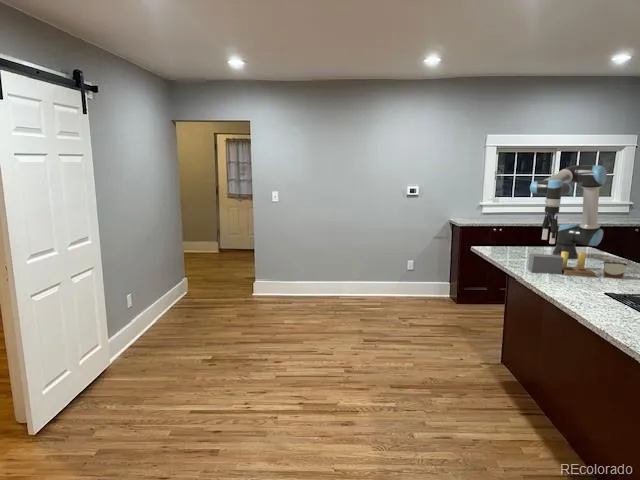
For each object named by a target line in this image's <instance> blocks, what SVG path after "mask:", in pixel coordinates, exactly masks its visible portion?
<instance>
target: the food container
mask: <svg viewBox="0 0 640 480" xmlns="http://www.w3.org/2000/svg"><path fill="white" fill-rule="evenodd" d="M602 264H603V278H605V279H615V280H623V279H624V276H625V272H626V269H627V267H629V264H628V262H627V261H624V260H618V259H613V258H612V259H608V258H607V259H604V260H603V262H602Z"/></svg>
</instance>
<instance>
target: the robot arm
mask: <svg viewBox="0 0 640 480" xmlns="http://www.w3.org/2000/svg"><path fill="white" fill-rule="evenodd" d="M607 176H608V174H607V169H606V168H605V167H604V166H602V165H598V164H594V165H593V164H585V165H584V164H583V165H582V164H581V165H580V164H578V165H577V164H575V165H572V166H568V167H565V168H562V169H561V170H559V171H558V173H556V174H553V175H552V176H549V177H548V178H546V179H542V180H541V181H538V180H537V181H536V180H535V181H532V182H531V183H530V186H529V191H530V193H532V194H536V195H546V197H545V200H544V202H545V207H544V217H543V222H542V225H541V228H542V235H541V240H545V241H547V240H548V236H549V241H548V242H549V244H550V245H555V244H556V245H555V247H554V249H553V250H552V255H560V256H561V252H562V251H565V252H569V254H568V260H569V259H573V260H575V259H578V252H577V249H576V245H577V244H579V245H584V246H588V247H590V246H592V247H593V246H594V247H597V246H598V245H599V244H600V243H601V241H602V239H603V237H604V230H603V229H602V228H601V226H600V225H599V224H598V216H599V199H600V197H599V196H600V189H601V188H602V187H603V185H605V183H607V182H606V181H607ZM570 183H571V184H572V183H574V184H580V187H581V188H582V189H583V195H582V196H583V197H582V218H581V219H582V220H581V221H582V223H580V224H578V223H577V224H576V223H564V224H560V225H558V215H556V214H559V213H560V206H561V201H562V200H561V199H562V196H569V194H571V192H572V191H573V186H572V185H571V184H570ZM549 229H550V234H549ZM548 234H549V235H548ZM556 237H557V239H556ZM549 244H548V245H549Z"/></svg>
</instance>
